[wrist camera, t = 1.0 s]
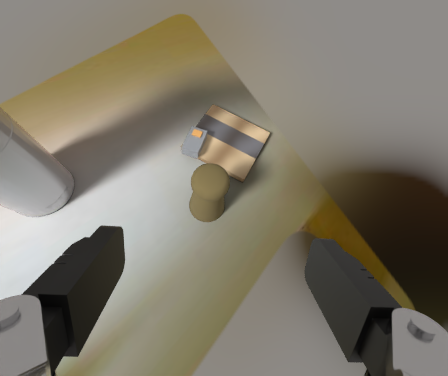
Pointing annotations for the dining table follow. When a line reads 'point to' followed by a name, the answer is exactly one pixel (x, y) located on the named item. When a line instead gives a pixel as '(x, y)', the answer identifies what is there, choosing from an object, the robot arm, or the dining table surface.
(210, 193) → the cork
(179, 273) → the dining table surface
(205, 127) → the plywood board
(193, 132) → the block
